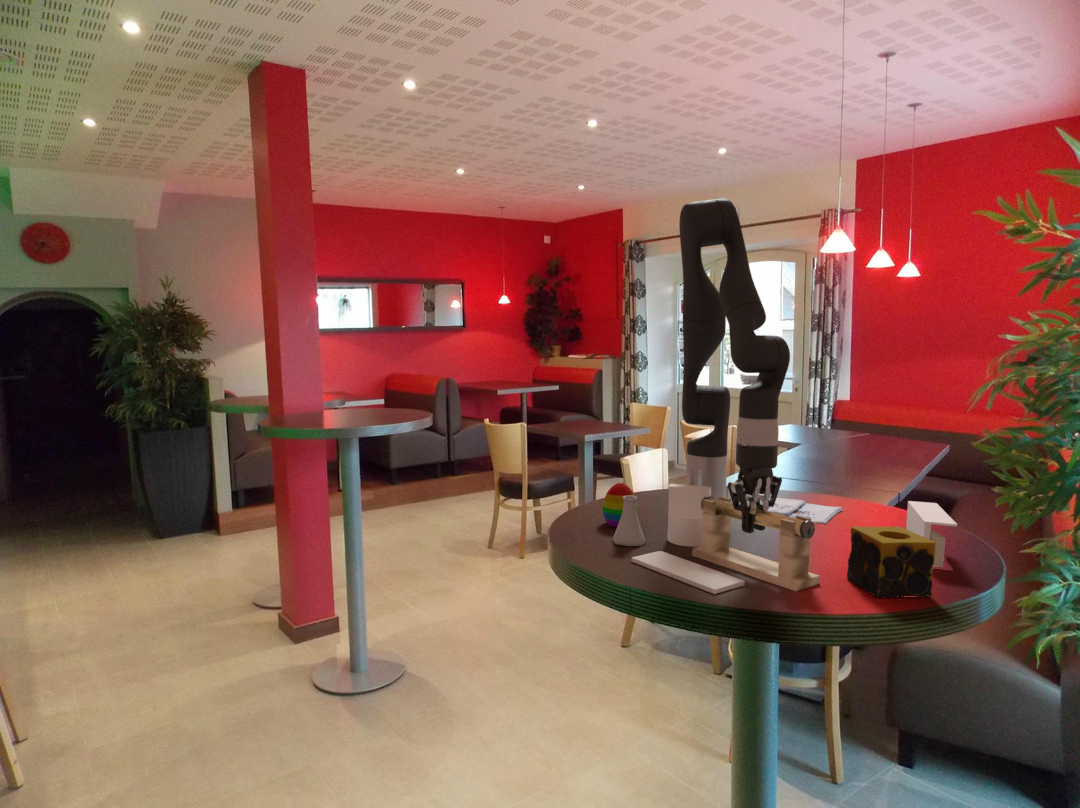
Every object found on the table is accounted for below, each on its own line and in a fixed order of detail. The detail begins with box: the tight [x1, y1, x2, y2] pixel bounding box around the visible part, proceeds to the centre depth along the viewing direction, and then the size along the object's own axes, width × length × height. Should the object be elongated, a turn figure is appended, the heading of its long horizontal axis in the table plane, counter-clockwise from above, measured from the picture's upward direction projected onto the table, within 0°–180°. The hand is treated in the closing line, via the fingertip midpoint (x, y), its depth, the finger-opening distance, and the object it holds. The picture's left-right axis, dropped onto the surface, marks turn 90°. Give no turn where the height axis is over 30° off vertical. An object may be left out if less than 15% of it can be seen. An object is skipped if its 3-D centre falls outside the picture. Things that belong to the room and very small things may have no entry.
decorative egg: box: [602, 482, 638, 528], centre depth 162 cm, size 8×8×10 cm
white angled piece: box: [905, 500, 958, 567], centre depth 141 cm, size 20×6×9 cm, turn 161°
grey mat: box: [630, 550, 746, 595], centre depth 128 cm, size 8×21×1 cm, turn 35°
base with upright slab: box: [667, 483, 711, 548], centre depth 149 cm, size 9×9×12 cm
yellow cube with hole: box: [846, 526, 935, 598], centre depth 121 cm, size 10×10×10 cm
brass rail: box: [701, 496, 816, 540], centre depth 130 cm, size 24×3×3 cm, turn 35°
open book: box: [760, 496, 843, 525], centre depth 177 cm, size 19×20×2 cm
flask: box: [612, 495, 647, 547], centre depth 147 cm, size 7×7×10 cm
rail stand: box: [691, 497, 821, 592], centre depth 131 cm, size 7×24×12 cm, turn 35°
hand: (753, 530), depth 131 cm, fingers closed on brass rail, 2 cm apart
